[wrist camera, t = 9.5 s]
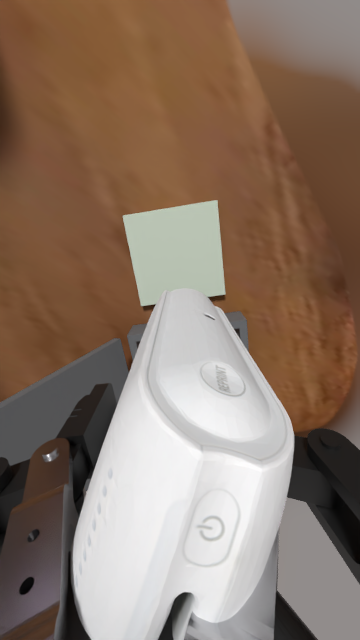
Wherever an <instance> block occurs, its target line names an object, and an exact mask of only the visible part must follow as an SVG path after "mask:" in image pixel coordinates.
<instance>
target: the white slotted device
mask: <svg viewBox="0 0 360 640" xmlns="http://www.w3.org/2000/svg"><path fill="white" fill-rule="evenodd" d="M293 453H294V432H293V428H292V424H291V420H290V418H289V416H288V414H287V412H286V410H285V409H284V407H283V405H282V404H281V402H280V401H279V399H278V398H277V396H276V395H275V393H274V391H273V390H272V388H271V387H270V385H269V384H268V382H267V381H266V379H265V377H264V376H263V374H262V373H261V371H260V370H259V368H258V366H257V365H256V363H255V362H254V360H253V359H252V357H251V356H250V354H249V352H248V351H247V349H246V348H245V346H244V344H243V343H242V341H241V340H240V338H239V337H238V335H237V333H236V332H235V330H234V328H233V327H232V325H231V324H230V322H229V321H228V319H227V317H226V316H225V314H224V312H223V311H222V310H221V309H220V308H219V307H216V306H214V305H213V304H212V302H211V301H210V299H209V298H208V297H207V296H206V295H204V294H203V293H201V292H199V291H197V290H194V289H189V288H181V289H176V290H173V291H171V292H170V291H167V290H165V291H164V292H163V293H162V295H161V296H160V298H159V299H158V301H157V303H156V305H155V307H154V309H153V312H152V314H151V316H150V319H149V321H148V324H147V326H146V328H145V331H144V334H143V336H142V339H141V341H140V344H139V347H138V349H137V352H136V355H135V358H134V360H133V363H132V366H131V369H130V372H129V374H128V377H127V380H126V382H125V385H124V388H123V390H122V393H121V396H120V399H119V401H118V404H117V407H116V410H115V412H114V415H113V418H112V421H111V423H110V426H109V429H108V432H107V434H106V437H105V440H104V443H103V445H102V448H101V451H100V454H99V457H98V460H97V463H96V466H95V469H94V472H93V475H92V478H91V481H90V484H89V487H88V490H87V493H86V497H85V500H84V503H83V506H82V510H81V513H80V517H79V520H78V523H77V527H76V531H75V534H74V538H73V541H72V545H71V549H70V551H71V585H72V590H73V596H74V602H75V605H76V609H77V612H78V615H79V619H80V621H81V623H82V625H83V627H84V629H85V631H86V632H87V634H88V635H89V637H90V638H91V640H158V639H159V636H160V634H161V632H162V630H163V627H164V625H165V623H166V621H167V618H168V616H169V613H170V611H171V615H172V632H173V639H174V640H184V637H185V633H186V630H187V626H188V623H189V619H190V616H191V613H192V611H193V613H194V614H195V615H196V616H197V617H199V618H201V619H203V620H206V621H208V622H211V623H218V622H222V621H225V620H227V619H229V618H231V617H232V616H234V615H235V614H236V613H237V612H238V611H239V610H240V609H241V607H242V606H243V605H244V604H245V602H246V601H247V600H248V598H249V597H250V596H251V594H252V593H253V591H254V589H255V587H256V585H257V584H258V582H259V580H260V578H261V576H262V574H263V571H264V568H265V566H266V563H267V560H268V558H269V555H270V552H271V549H272V546H273V543H274V540H275V537H276V534H277V531H278V528H279V525H280V522H281V518H282V514H283V511H284V507H285V503H286V499H287V494H288V488H289V483H290V478H291V471H292V463H293Z"/></svg>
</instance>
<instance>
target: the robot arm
mask: <svg viewBox="0 0 360 640" xmlns="http://www.w3.org/2000/svg"><path fill="white" fill-rule="evenodd" d="M116 407H117V402H116V398H115V394H114V390H113V386H112V384H111V383H104V384H96V385H95V386H94V388H93V390H92V391H91V393H90V395H85V396H84V397H83V398H82V399H81V400H80V401H78V403H77V404H76V406H75V408H74V409H73V411H72V412H71V414H70V416H69V417H68V419H67V420H66V422H65V424H64V425H63V427H62V428H61V430H60V432H59V433H58V435H57V437H56V438H55V439H52V440H50V441H48V442H46V443H44V444H42V445H41V446H40V447H39V448H38V449H37V450H36V451H35V452H34V453H33V455H32V457H31V459H28V460H25V461H22V462H20V463H17V464H14V465H11V466H10V464H9V462H8V460H7V459H6V458H4V457H0V640H91V638H90V637H89V635H88V634H87V632H86V631H85V629H84V627H83V625H82V623H81V621H80V619H79V615H78V612H77V609H76V605H75V602H74V596H73V590H72V585H71V551H70V549H71V545H72V541H73V538H74V534H75V531H76V527H77V523H78V520H79V517H80V513H81V510H82V506H83V503H84V500H85V497H86V490H85V487H84V486H85V483H86V481H87V479H91V478H92V475H93V472H94V469H95V466H96V463H97V460H98V457H99V454H100V451H101V448H102V445H103V443H104V440H105V437H106V434H107V432H108V429H109V426H110V423H111V421H112V418H113V415H114V412H115V410H116ZM287 497H288V498H293V499H296V500H300V501H304V502H306V503H307V504H308V506H309V507H310V509H311V511H312V512H313V514H314V515H315V516H316V518H317V520H318V521H319V523H320V524H321V526H322V527H323V529H324V530H325V532H326V533H327V535H328V536H329V538H330V540H331V541H332V543H333V544H334V546H335V547H336V549H337V550H338V552H339V553H340V555H341V556H342V558H343V559H344V561H345V562H346V564H347V566H348V567H349V569H350V570H351V572H352V573H353V575H354V576H355V578H356V579H357V581H358V582H359V584H360V450H359V449H358V448H357V447H356V446H355V445H354V444H352V443H351V442H350V441H349V440H348V439H347V438H346V437H344V436H343V435H341V434H340V433H338V432H335V431H333V430H329V429H323V428H322V429H315V430H312V431H311V432H310V433H309V434H308V437H307V438H304V437H298V436H294V453H293V463H292V471H291V478H290V483H289V488H288V494H287ZM279 527H280V525H279ZM278 554H279V528H278V531H277V534H276V537H275V540H274V543H273V546H272V549H271V552H270V555H269V558H268V560H267V563H266V566H265V568H264V571H263V574H262V576H261V578H260V580H259V582H258V584H257V585H256V587H255V589H254V591H253V593H252V594H251V596H250V597H249V598H248V600H247V601H246V602H245V604H244V605H243V606H242V607H241V609H240V610H239V611H238V612H237V613H236V614H235V615H234V616H232V617H231V618H229V619H227V620H225V621H222V622H218V623H211V622H208V621H206V620H203V619H201V618H199V617H197V616H196V615H195V614H194V613H193V611H192V613H191V616H190V619H189V623H188V626H187V630H186V633H185V637H184V640H318V639H317V638H316V637H315V636H314V634H313V633H312V632H311V631H310V630H309V629H308V627H307V626H306V625H305V624H304V622H303V621H302V620H301V619H300V618H299V617H298V615H297V614H296V613H295V612H294V610H293V609H292V608H291V607H290V605H289V604H288V603H287V602H286V601H285V599H284V598H283V597H282V596H281V595H280V593H279V592H278V591H277V579H278ZM158 640H174V639H173V632H172V615H171V611H170V613H169V616H168V618H167V621H166V623H165V625H164V627H163V630H162V632H161V634H160V636H159V639H158Z"/></svg>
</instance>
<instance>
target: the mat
mask: <svg viewBox="0 0 360 640" xmlns="http://www.w3.org/2000/svg"><path fill="white" fill-rule="evenodd" d="M123 220H124V225H125V230H126V235H127V239H128V244H129V249H130V254H131V259H132V264H133V268H134V273H135V278H136V283H137V288H138V293H139V297H140V302H141V306H146V305H153V304H156V303H157V301H158V299H159V298H160V296H161V295H162V293H163V292H164V291H165V290H167V291H170V292H171V291H173V290H176V289H181V288H189V289H194V290H197V291H199V292H201V293H203V294H204V295H206V296H207V297H211V296H218V295H225V284H224V272H223V261H222V249H221V238H220V226H219V215H218V203H217V200H215V201H209V202H203V203H197V204H191V205H184V206H178V207H172V208H166V209H160V210H154V211H148V212H142V213H136V214H130V215H124V216H123Z"/></svg>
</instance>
